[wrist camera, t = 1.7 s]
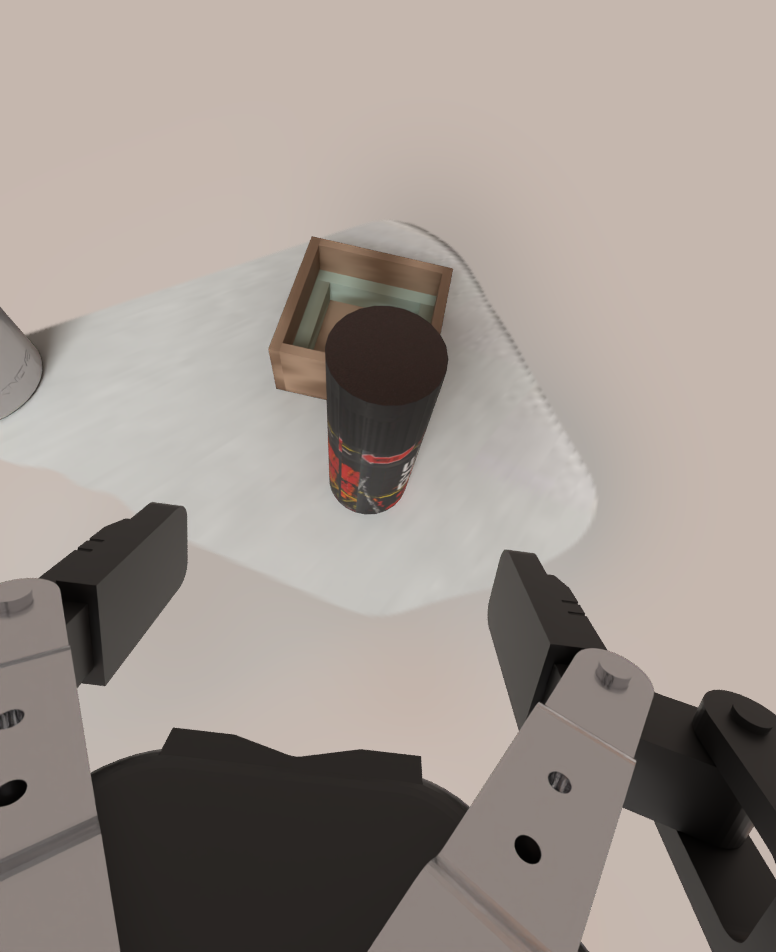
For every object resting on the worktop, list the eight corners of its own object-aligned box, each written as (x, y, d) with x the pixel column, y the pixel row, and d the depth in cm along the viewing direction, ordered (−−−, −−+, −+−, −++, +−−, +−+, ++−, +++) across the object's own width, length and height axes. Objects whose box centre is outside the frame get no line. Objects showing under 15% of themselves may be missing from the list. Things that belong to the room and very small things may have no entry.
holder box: (276, 388, 39) (268, 349, 34) (314, 283, 44) (311, 236, 39) (419, 420, 39) (430, 385, 34) (440, 311, 44) (453, 268, 39)
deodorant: (344, 434, 38) (349, 291, 24) (415, 457, 37) (461, 326, 24) (317, 499, 35) (305, 382, 21) (393, 525, 35) (429, 422, 21)
